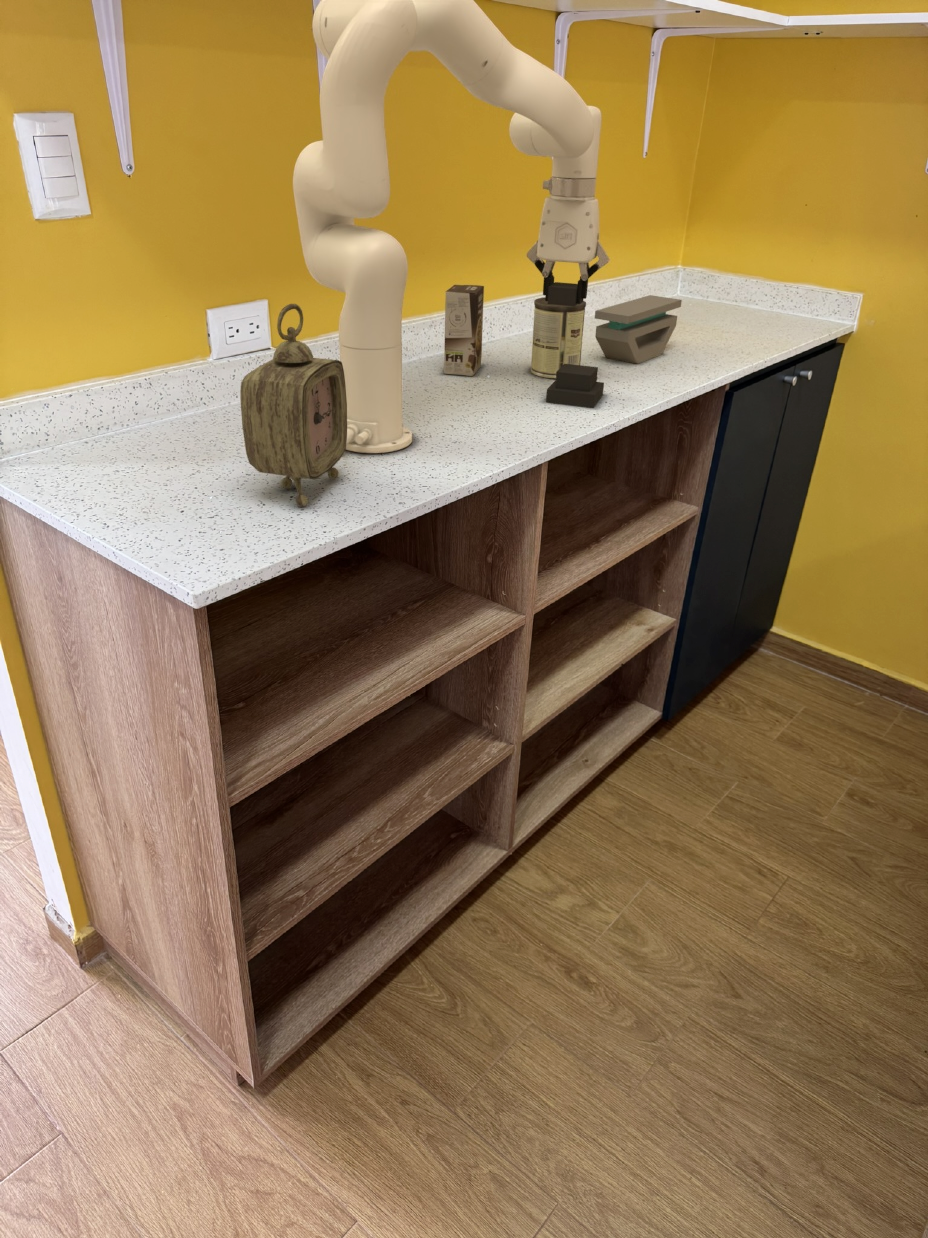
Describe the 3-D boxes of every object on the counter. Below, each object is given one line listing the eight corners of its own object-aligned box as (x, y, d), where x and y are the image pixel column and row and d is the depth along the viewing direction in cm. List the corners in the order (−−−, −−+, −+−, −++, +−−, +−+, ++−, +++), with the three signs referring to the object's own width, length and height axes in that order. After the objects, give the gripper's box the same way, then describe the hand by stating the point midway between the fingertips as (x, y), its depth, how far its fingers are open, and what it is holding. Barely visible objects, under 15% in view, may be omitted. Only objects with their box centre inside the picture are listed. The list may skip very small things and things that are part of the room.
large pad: (593, 408, 161) (594, 394, 160) (545, 402, 164) (546, 388, 162) (602, 395, 169) (604, 382, 167) (557, 389, 171) (558, 377, 170)
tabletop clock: (308, 513, 117) (295, 318, 104) (246, 505, 119) (225, 312, 106) (349, 476, 129) (342, 296, 116) (293, 468, 131) (279, 291, 118)
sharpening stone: (644, 343, 207) (650, 294, 201) (674, 349, 203) (681, 299, 197) (590, 363, 189) (595, 310, 184) (622, 369, 185) (628, 316, 180)
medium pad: (589, 391, 161) (591, 375, 160) (555, 387, 163) (556, 371, 162) (596, 383, 167) (598, 367, 165) (563, 379, 168) (564, 363, 167)
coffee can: (540, 363, 188) (544, 294, 181) (586, 369, 184) (592, 299, 177) (522, 374, 180) (526, 302, 173) (570, 381, 176) (576, 308, 169)
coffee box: (474, 376, 178) (476, 292, 169) (443, 374, 179) (444, 290, 170) (482, 365, 185) (485, 284, 177) (452, 363, 186) (454, 282, 178)
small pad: (574, 306, 156) (576, 288, 154) (547, 303, 157) (548, 286, 156) (580, 301, 160) (582, 283, 159) (553, 299, 161) (555, 281, 160)
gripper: (518, 188, 148) (513, 300, 158) (619, 193, 144) (607, 309, 153) (529, 185, 155) (523, 293, 164) (626, 190, 150) (614, 301, 159)
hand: (564, 300), depth 158 cm, fingers closed on small pad, 5 cm apart
